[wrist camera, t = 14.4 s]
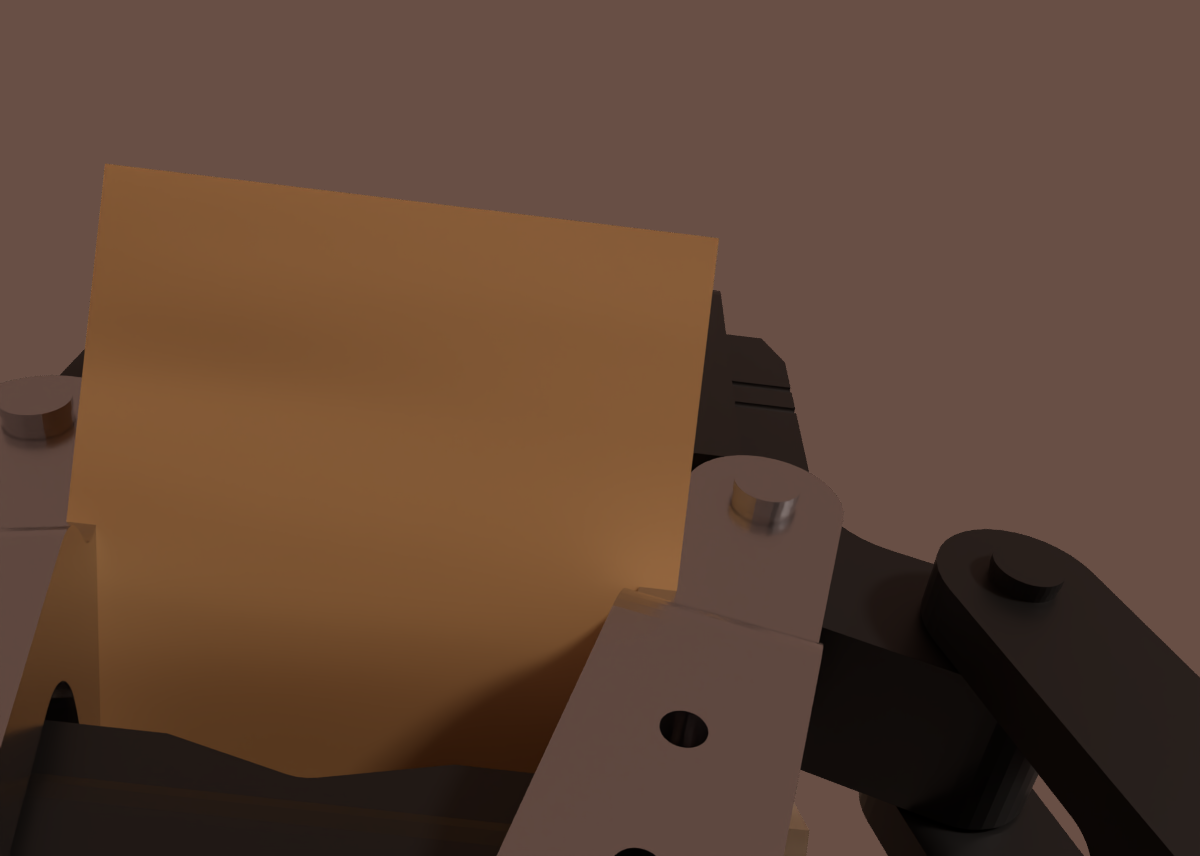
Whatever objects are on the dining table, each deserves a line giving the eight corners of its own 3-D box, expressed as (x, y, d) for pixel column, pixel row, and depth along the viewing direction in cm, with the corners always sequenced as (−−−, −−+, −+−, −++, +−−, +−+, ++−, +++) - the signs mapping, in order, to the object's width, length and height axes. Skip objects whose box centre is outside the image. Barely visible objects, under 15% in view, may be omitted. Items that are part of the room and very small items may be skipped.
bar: (646, 841, 7) (719, 238, 7) (39, 775, 7) (105, 164, 7) (594, 521, 27) (613, 359, 27) (432, 503, 27) (450, 340, 27)
